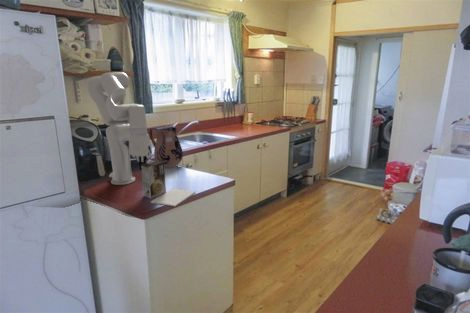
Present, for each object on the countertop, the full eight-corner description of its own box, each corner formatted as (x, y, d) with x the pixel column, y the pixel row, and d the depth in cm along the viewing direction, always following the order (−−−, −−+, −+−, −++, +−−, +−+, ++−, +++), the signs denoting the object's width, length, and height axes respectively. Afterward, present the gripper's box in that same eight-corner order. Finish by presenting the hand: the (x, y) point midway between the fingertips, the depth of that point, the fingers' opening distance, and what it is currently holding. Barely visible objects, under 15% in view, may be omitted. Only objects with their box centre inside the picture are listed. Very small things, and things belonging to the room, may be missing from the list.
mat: (150, 202, 147) (150, 201, 147) (173, 189, 163) (172, 188, 163) (175, 206, 142) (174, 205, 142) (195, 192, 158) (195, 191, 158)
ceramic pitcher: (178, 170, 196) (175, 129, 190) (145, 169, 199) (141, 129, 193) (187, 162, 213) (184, 124, 206) (156, 161, 216) (153, 124, 210)
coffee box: (158, 190, 162) (156, 159, 158) (166, 193, 158) (164, 161, 154) (142, 195, 155) (140, 163, 151) (151, 199, 151) (148, 166, 147)
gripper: (120, 132, 151) (125, 170, 155) (146, 133, 145) (150, 172, 149) (131, 129, 157) (136, 166, 162) (157, 130, 152) (160, 168, 156)
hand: (143, 169), depth 156 cm, fingers closed
